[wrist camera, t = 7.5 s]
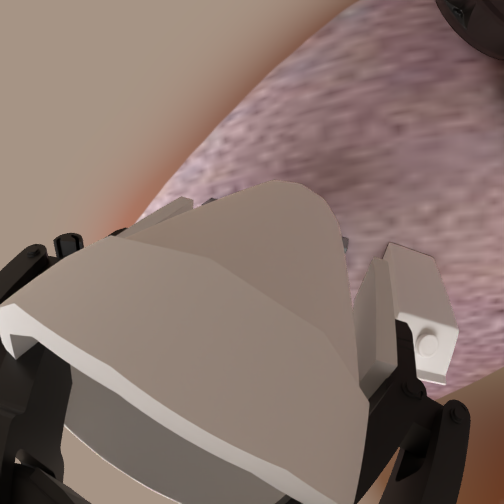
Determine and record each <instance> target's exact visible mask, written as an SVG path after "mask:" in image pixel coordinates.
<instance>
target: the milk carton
mask: <svg viewBox="0 0 504 504" xmlns="http://www.w3.org/2000/svg"><path fill="white" fill-rule="evenodd" d="M383 260H385V261H388V266H389V273H390V280H391V288H392V297H393V306H394V316H395V319H397V320H400V321H403V322H406V323H407V324H408V325H409V327H410V329H411V331H412V334H413V344H414V351H415V361H416V373H417V378H418V379H419V380H423V381H427V382H432V383H437V384H442V385H446V378H445V375H446V372H447V369H448V366H449V363H450V360H451V357H452V354H453V351H454V347H455V344H456V340H457V337H458V333H459V329H458V326H457V322H456V319H455V316H454V313H453V309H452V306H451V303H450V300H449V297H448V295H447V292H446V289H445V286H444V283H443V281H442V278H441V275H440V273H439V270H438V268H437V265H436V263H435V260H434V258H433V257H431V256H428V255H425V254H422V253H420V252H417V251H414V250H411V249H408V248H405V247H403V246H400V245H397V244H394V243H389V244H388V247H387V249H386V252H385V254H384V257H383Z"/></svg>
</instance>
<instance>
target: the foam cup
mask: <svg viewBox="0 0 504 504" xmlns="http://www.w3.org/2000/svg"><path fill="white" fill-rule="evenodd" d="M0 337H1V340H2V343H3V345H4V347H5V348H6V350H7V351H8V352H9V353H10V354H11V355H12V356H13V357H14V358H15V359H17V358H19V357H20V356H21V355H22V354H24V353H25V352H26V351H27V350H29V349H30V348H31V347H32V346H34V345H35V344H36V343H37V342H40V343H41V344H43V345H44V346H45V347H47V348H48V349H49V350H51V351H52V352H53V353H55V354H56V355H58V356H59V357H60V358H62V359H63V360H65V361H66V362H68V363H69V364H70V367H71V375H72V383H73V384H72V388H71V392H70V397H69V401H68V406H67V411H66V416H65V421H64V427H66V428H67V429H68V430H69V431H70V432H71V433H72V434H73V435H74V436H75V437H77V438H78V439H79V440H80V441H81V442H82V443H84V444H85V445H86V446H87V447H88V448H90V449H91V450H92V451H93V452H94V453H96V454H97V455H98V456H99V457H101V458H102V459H103V460H105V461H106V462H107V463H109V464H110V465H112V466H113V467H115V468H116V469H118V470H119V471H121V472H122V473H124V474H125V475H127V476H129V477H130V478H132V479H134V480H135V481H137V482H138V483H140V484H141V485H143V486H145V487H147V488H148V489H150V490H152V491H154V492H156V493H158V494H160V495H162V496H164V497H166V498H168V499H170V500H173V501H175V502H177V503H179V504H275V503H276V502H277V501H279V500H280V499H281V498H282V497H283V496H285V495H286V494H287V495H288V496H290V497H292V498H294V499H295V500H297V501H299V502H301V503H303V504H354V500H355V496H356V491H357V486H358V481H359V476H360V470H361V465H362V459H363V452H364V446H365V439H366V431H367V423H368V414H369V404H370V403H369V401H368V400H367V398H366V396H365V395H364V393H363V392H362V390H361V389H360V387H359V374H358V360H357V348H356V337H355V327H354V318H353V309H352V301H351V293H350V286H349V279H348V272H347V266H346V259H345V253H344V247H343V241H342V236H341V230H340V226H339V222H338V221H337V219H336V217H335V215H334V214H333V212H332V210H331V209H330V207H329V205H328V204H327V202H326V200H325V199H324V198H322V197H321V196H319V195H318V194H316V193H315V192H313V191H312V190H310V189H309V188H307V187H306V186H304V185H303V184H300V183H294V182H287V181H280V180H271V181H268V182H265V183H262V184H259V185H256V186H253V187H250V188H247V189H244V190H242V191H239V192H236V193H233V194H231V195H228V196H225V197H223V198H220V199H218V200H215V201H212V202H210V203H207V204H205V205H202V206H200V207H197V208H195V209H192V210H190V211H187V212H185V213H182V214H180V215H177V216H175V217H172V218H170V219H168V220H165V221H163V222H160V223H158V224H156V225H153V226H151V227H149V228H146V229H144V230H142V231H140V232H137V233H135V234H133V235H130V236H128V237H126V238H120V237H116V236H112V235H110V236H108V237H106V238H104V239H102V240H99V241H97V242H95V243H93V244H91V245H89V246H87V247H85V248H83V249H81V250H79V251H77V252H75V253H73V254H71V255H69V256H67V257H65V258H63V259H62V260H60V261H59V262H58V263H56V264H55V265H53V266H52V267H50V268H49V269H47V270H46V271H45V272H43V273H42V274H40V275H39V276H37V277H36V278H35V279H33V280H32V281H31V282H29V283H28V284H26V285H25V286H24V287H22V288H21V289H20V290H18V291H17V292H16V293H14V294H13V295H12V296H11V297H9V298H8V299H7V300H5V301H4V302H3V303H2V304H0Z"/></svg>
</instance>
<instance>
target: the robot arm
mask: <svg viewBox="0 0 504 504" xmlns="http://www.w3.org/2000/svg"><path fill="white" fill-rule="evenodd" d="M436 2H437V5H438V7H439V9H440V10H441V12H442V14H443V15H444V17H445V18H446V20H447V21H448V23H449V24H450V25H451V26H452V28H453V29H454V30H455V31H456V32H457V33H458V34H459V35H460V36H461V37H462V38H463V39H464V40H465V41H467V42H468V43H469V44H470V45H472V46H473V47H474V48H476V49H477V50H479V51H481V52H482V53H484V54H486V55H488V56H491V57H494V58H497V59H502V60H504V0H436ZM192 209H193V200H192V199H188V198H185V197H179V198H178V199H176V200H174V201H172V202H171V203H169V204H167V205H166V206H164V207H162V208H160V209H159V210H157V211H155V212H154V213H152V214H150V215H149V216H147V217H145V218H144V219H142V220H140V221H139V222H137V223H136V224H134V225H132V226H131V227H129V228H123V229H120V230H117V231H115V232H113V233H111V234H110V235H112V236H116V237H120V238H126V237H128V236H130V235H133V234H135V233H137V232H140V231H142V230H144V229H146V228H149V227H151V226H153V225H156V224H158V223H160V222H163V221H165V220H168V219H170V218H172V217H175V216H177V215H180V214H182V213H185V212H187V211H190V210H192ZM110 235H108V236H110ZM105 238H106V237H105ZM103 239H104V238H103ZM53 241H54V246H55V251H56V256H57V257H52V256H48V254H47V249H46V247H45V246H44V245H41V244H34V245H31V246H28V247H27V248H26V249H24V250H23V251H22V252H21V253H19V254H18V255H17V256H16V257H15V258H14V259H13V260H12V261H10V262H9V263H8V264H7V265H6V266H5V267H4V268H3V269H2V270H1V271H0V304H2V303H3V302H4V301H5V300H7V299H8V298H9V297H11V296H12V295H13V294H14V293H16V292H17V291H18V290H20V289H21V288H22V287H24V286H25V285H26V284H28V283H29V282H31V281H32V280H33V279H35V278H36V277H37V276H39V275H40V274H42V273H43V272H45V271H46V270H47V269H49V268H50V267H52V266H53V265H55V264H56V263H58V262H59V261H60V260H62V259H63V258H65V257H67V256H69V255H71V254H73V253H75V252H77V251H79V250H81V249H83V248H84V245H83V239H82V236H81V235H79V234H75V233H67V234H62V235H60V236H58V237H56V238H55V239H54V240H53ZM353 318H354V327H355V337H356V348H357V360H358V374H359V387H360V389H361V390H362V392H363V393H364V395H365V396H366V398H367V400H368V401H369V403H370V404H369V414H368V423H367V431H366V439H365V446H364V452H363V459H362V465H361V470H360V476H359V481H358V486H357V491H356V496H355V500H354V504H357V503H358V502H359V501H360V499H361V498H362V497H363V496H364V495H365V493H366V492H367V491H368V489H369V488H370V487H371V485H372V484H373V483H374V482H375V480H376V479H377V478H378V476H379V475H380V473H381V472H382V471H383V469H384V468H385V467H386V465H387V464H388V462H389V461H390V459H391V458H392V456H393V455H394V453H395V452H396V450H397V449H398V447H400V450H399V453H398V456H397V459H396V462H395V464H394V467H393V470H392V473H391V475H390V478H389V480H388V483H387V485H386V488H385V490H384V492H383V495H382V498H381V499H380V502H379V504H456V502H457V498H458V494H459V490H460V486H461V481H462V477H463V472H464V466H465V461H466V454H467V447H468V440H469V430H470V421H471V420H470V414H469V411H468V409H467V407H466V406H465V405H464V404H463V403H461V402H460V401H458V400H449V401H448V402H447V403H446V404H445V405H444V406H443V405H441V404H439V403H437V402H436V401H434V400H432V399H430V398H429V397H427V393H426V388H425V386H424V384H423V383H422V382H421V381H420V380H419V379H418V378H417V373H416V361H415V351H414V344H413V334H412V331H411V329H410V327H409V325H408V324H407V323H406V322H403V321H400V320H397V319H395V316H394V306H393V297H392V288H391V280H390V273H389V266H388V261H385V260H383V259H380V258H377V257H373V259H372V262H371V264H370V266H369V269H368V271H367V273H366V275H365V278H364V280H363V282H362V284H361V287H360V289H359V291H358V293H357V295H356V297H355V299H354V308H353ZM72 384H73V383H72V375H71V367H70V364H69V363H68V362H66V361H65V360H63V359H62V358H60V357H59V356H58V355H56V354H55V353H53V352H52V351H51V350H49V349H48V348H47V347H45V346H44V345H43V344H41V343H40V342H37V343H36V344H35V345H34V346H32V347H31V348H30V349H29V350H27V351H26V352H25V353H24V354H22V355H21V356H20V357H19V358H17V359H15V358H14V357H13V356H12V355H11V354H10V353H9V352H8V351H7V350H6V348H5V347H4V345H3V343H2V340H1V337H0V504H91V503H90V502H88V501H87V500H85V499H84V498H83V497H81V496H80V495H79V494H77V493H76V492H74V491H73V490H72V489H71V488H69V487H68V486H66V485H65V484H63V475H64V462H63V457H62V455H61V450H60V446H61V439H62V432H63V427H64V421H65V416H66V411H67V406H68V401H69V397H70V392H71V388H72ZM15 457H16V458H17V459H19V461H20V462H21V464H17V463H15ZM275 504H303V503H301V502H299V501H297V500H295V499H294V498H292V497H290V496H288V495H287V494H286V495H285V496H283V497H282V498H281V499H280V500H279V501H277V502H276V503H275Z"/></svg>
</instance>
